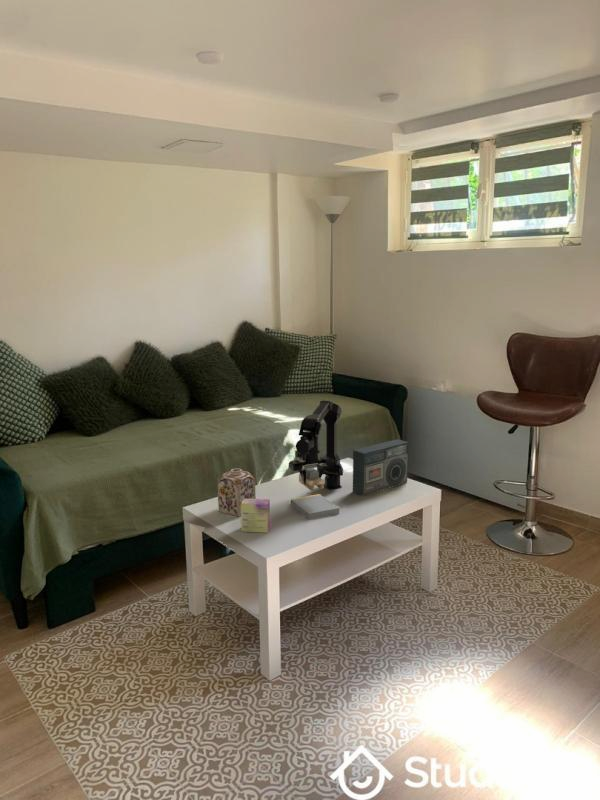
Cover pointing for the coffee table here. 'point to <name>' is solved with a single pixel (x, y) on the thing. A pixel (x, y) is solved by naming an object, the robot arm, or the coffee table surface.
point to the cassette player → (380, 466)
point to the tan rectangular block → (312, 483)
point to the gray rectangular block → (312, 473)
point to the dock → (314, 506)
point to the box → (255, 515)
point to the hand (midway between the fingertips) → (311, 482)
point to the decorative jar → (235, 491)
